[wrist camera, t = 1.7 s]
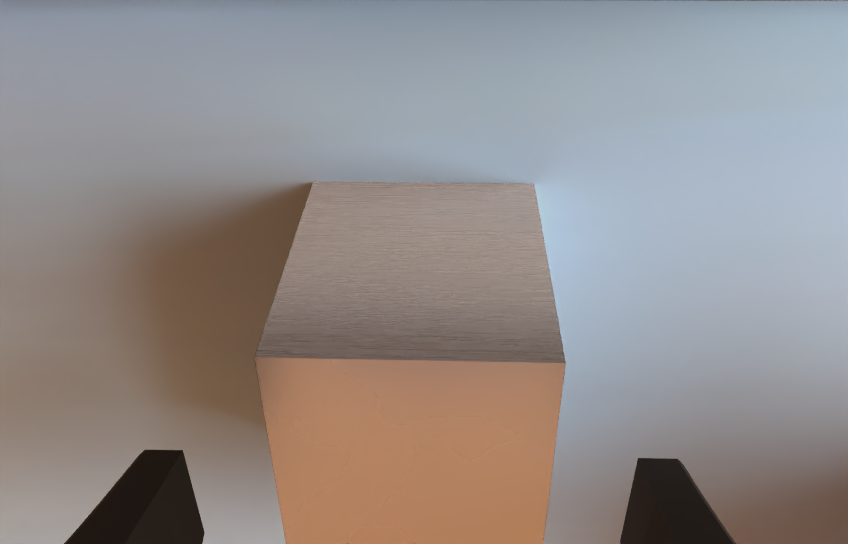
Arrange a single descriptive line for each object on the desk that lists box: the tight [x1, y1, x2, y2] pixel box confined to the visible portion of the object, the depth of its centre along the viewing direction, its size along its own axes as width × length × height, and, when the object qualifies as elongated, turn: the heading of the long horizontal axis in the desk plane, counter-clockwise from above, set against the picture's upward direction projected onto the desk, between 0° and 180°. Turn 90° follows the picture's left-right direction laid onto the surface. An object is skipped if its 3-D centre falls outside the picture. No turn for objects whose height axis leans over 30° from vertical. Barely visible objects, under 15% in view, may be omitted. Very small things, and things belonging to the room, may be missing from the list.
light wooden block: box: [254, 182, 566, 544], centre depth 14 cm, size 7×4×5 cm, turn 0°
